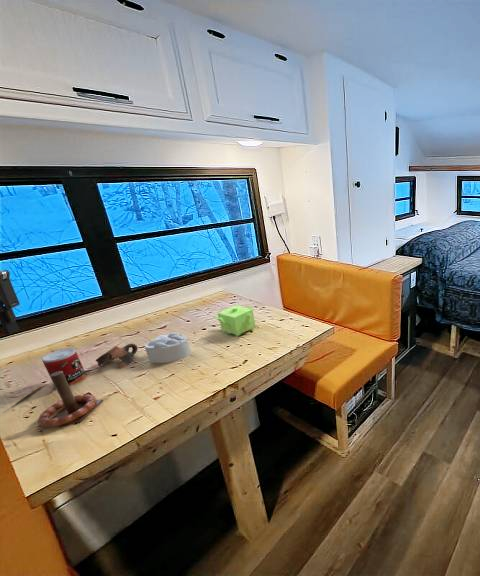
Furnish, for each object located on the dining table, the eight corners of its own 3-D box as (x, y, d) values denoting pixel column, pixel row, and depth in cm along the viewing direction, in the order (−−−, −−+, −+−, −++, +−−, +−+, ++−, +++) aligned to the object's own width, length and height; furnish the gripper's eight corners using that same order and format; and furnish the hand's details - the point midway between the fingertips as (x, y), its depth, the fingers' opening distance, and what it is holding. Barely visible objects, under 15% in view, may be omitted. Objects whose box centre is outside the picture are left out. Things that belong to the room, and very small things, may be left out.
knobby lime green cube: (256, 335, 130) (251, 312, 126) (219, 342, 125) (213, 317, 121) (257, 321, 143) (253, 299, 139) (224, 326, 139) (218, 304, 135)
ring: (27, 431, 80) (24, 425, 80) (62, 401, 91) (60, 396, 90) (77, 424, 82) (74, 419, 81) (106, 396, 93) (104, 390, 92)
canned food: (74, 388, 99) (60, 360, 95) (48, 390, 99) (33, 361, 95) (93, 374, 106) (82, 347, 102) (69, 376, 106) (56, 348, 102)
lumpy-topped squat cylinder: (165, 350, 120) (159, 330, 117) (197, 350, 120) (192, 330, 117) (145, 365, 111) (138, 344, 108) (180, 365, 110) (174, 344, 107)
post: (44, 430, 83) (21, 386, 78) (71, 406, 91) (51, 365, 86) (81, 425, 84) (61, 382, 79) (104, 403, 92) (87, 362, 87)
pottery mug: (115, 376, 106) (95, 359, 103) (108, 379, 111) (89, 363, 108) (148, 351, 115) (130, 335, 112) (140, 355, 120) (123, 340, 117)
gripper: (16, 243, 78) (51, 324, 86) (-63, 245, 76) (-19, 328, 84) (-16, 249, 71) (26, 337, 79) (-103, 252, 69) (-51, 342, 77)
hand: (3, 332), depth 82 cm, fingers open, 4 cm apart
